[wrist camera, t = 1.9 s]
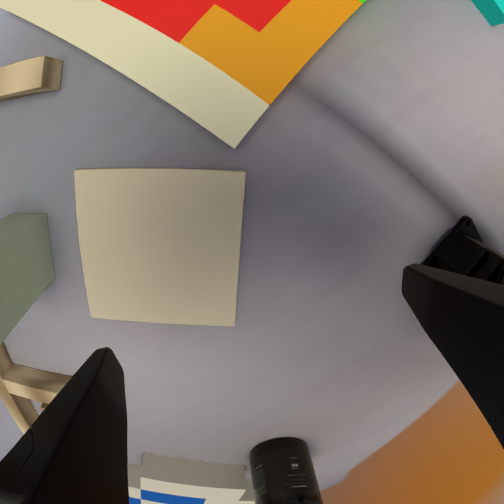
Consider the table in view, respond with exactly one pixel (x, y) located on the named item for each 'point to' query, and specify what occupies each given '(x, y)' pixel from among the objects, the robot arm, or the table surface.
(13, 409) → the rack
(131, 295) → the mat
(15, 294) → the tall green pillar
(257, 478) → the supplement bottle
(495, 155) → the table surface
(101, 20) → the puzzle game
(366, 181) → the table surface
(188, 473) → the pixel art tile
